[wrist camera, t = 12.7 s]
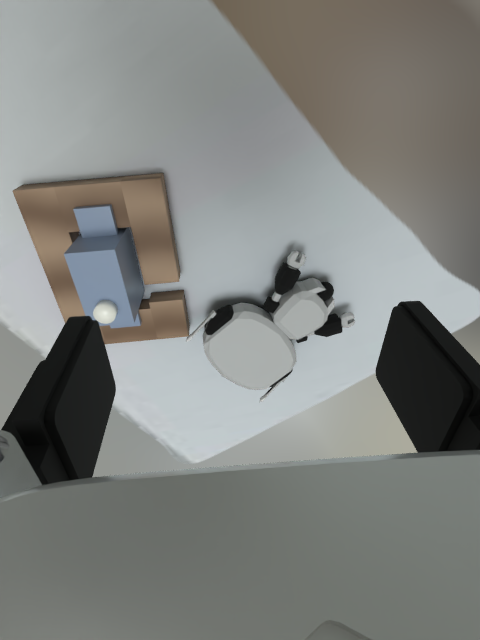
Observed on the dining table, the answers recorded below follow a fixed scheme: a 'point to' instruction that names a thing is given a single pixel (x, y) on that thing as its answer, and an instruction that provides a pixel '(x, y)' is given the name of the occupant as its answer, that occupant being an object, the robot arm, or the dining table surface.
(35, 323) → the dining table surface
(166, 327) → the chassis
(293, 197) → the dining table surface
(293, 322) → the robot toy
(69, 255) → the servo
